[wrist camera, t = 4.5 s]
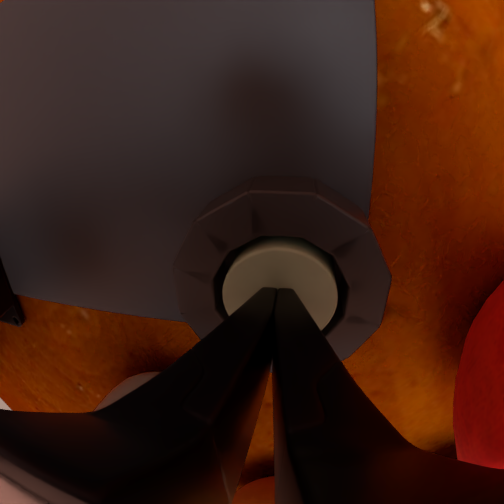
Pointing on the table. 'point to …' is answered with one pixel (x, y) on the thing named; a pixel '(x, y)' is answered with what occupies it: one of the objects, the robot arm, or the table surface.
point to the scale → (187, 151)
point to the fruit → (256, 492)
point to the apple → (482, 388)
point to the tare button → (283, 274)
